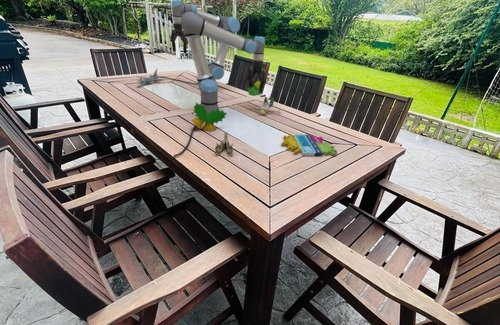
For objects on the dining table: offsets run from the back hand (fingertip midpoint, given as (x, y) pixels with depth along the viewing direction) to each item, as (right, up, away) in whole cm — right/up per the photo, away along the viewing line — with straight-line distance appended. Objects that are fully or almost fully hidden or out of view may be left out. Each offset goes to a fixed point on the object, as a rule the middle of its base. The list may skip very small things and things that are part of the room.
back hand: (179, 52), depth 216 cm
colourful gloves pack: (+91, -82, -65) cm, 139 cm away
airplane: (-40, -13, +41) cm, 59 cm away
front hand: (+63, -36, -15) cm, 74 cm away
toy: (+71, -50, -11) cm, 87 cm away
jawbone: (+45, -86, -77) cm, 124 cm away
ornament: (+33, -70, -51) cm, 93 cm away
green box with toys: (+62, -39, -14) cm, 75 cm away
